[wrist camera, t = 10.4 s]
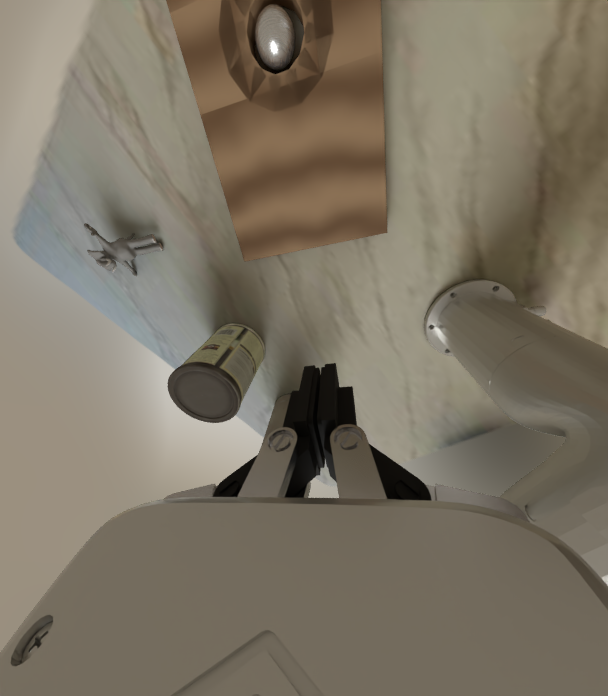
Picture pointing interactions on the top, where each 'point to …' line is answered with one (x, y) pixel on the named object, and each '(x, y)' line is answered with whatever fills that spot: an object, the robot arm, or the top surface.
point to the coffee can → (218, 374)
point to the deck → (292, 121)
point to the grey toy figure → (122, 250)
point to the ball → (275, 37)
